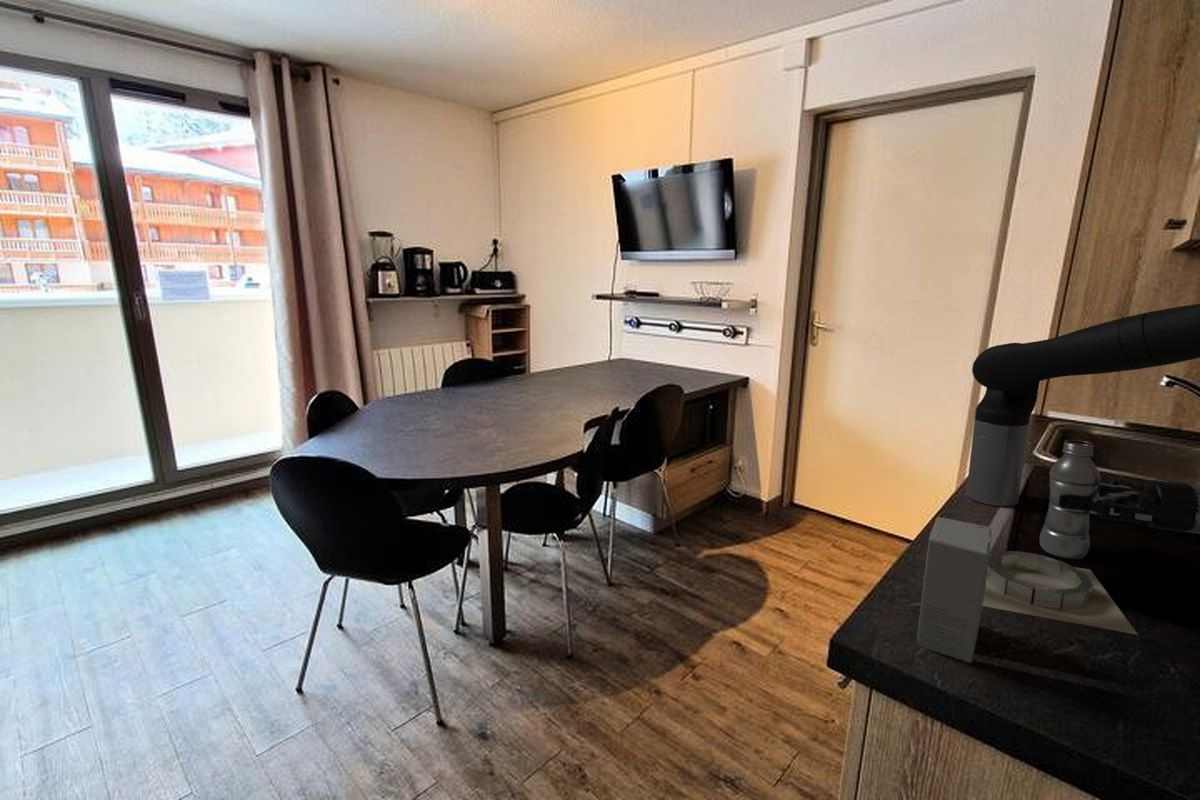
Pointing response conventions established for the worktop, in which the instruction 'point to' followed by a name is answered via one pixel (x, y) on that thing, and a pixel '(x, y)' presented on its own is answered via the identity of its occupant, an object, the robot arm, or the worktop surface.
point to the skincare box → (954, 588)
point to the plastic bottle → (1072, 477)
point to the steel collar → (1037, 594)
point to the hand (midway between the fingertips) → (1053, 493)
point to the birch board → (1093, 614)
